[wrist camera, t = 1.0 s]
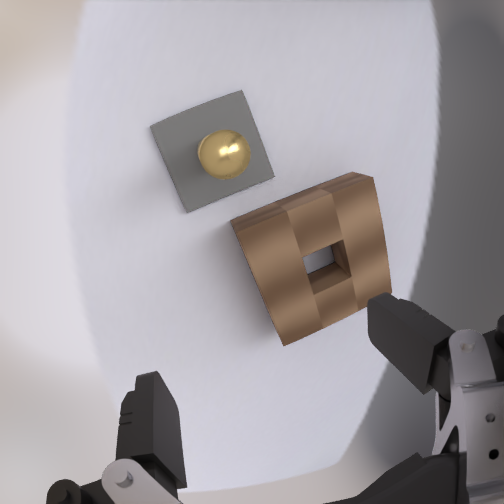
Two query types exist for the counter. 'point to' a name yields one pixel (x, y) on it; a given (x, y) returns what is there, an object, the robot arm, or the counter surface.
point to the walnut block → (311, 240)
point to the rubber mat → (186, 142)
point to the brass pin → (224, 154)
